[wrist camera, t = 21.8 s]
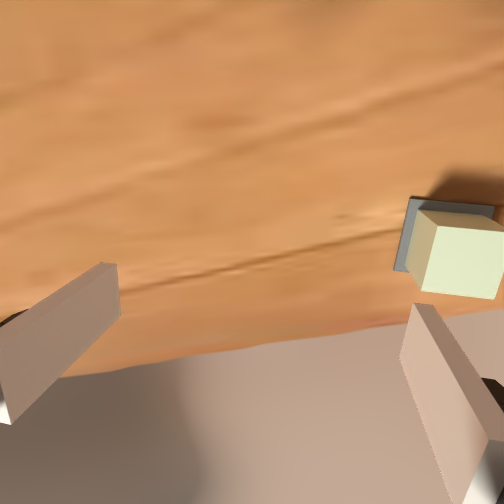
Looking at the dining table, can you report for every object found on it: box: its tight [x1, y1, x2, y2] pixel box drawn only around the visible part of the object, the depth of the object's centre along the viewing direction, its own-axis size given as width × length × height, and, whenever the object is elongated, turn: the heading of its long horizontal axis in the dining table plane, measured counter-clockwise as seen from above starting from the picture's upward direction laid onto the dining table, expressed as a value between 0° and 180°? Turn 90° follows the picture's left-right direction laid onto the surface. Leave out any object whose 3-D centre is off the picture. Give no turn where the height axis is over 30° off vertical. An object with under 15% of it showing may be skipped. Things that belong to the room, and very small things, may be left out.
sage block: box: [405, 209, 504, 299], centre depth 37 cm, size 7×7×7 cm
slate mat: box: [393, 198, 495, 273], centre depth 41 cm, size 9×9×1 cm
